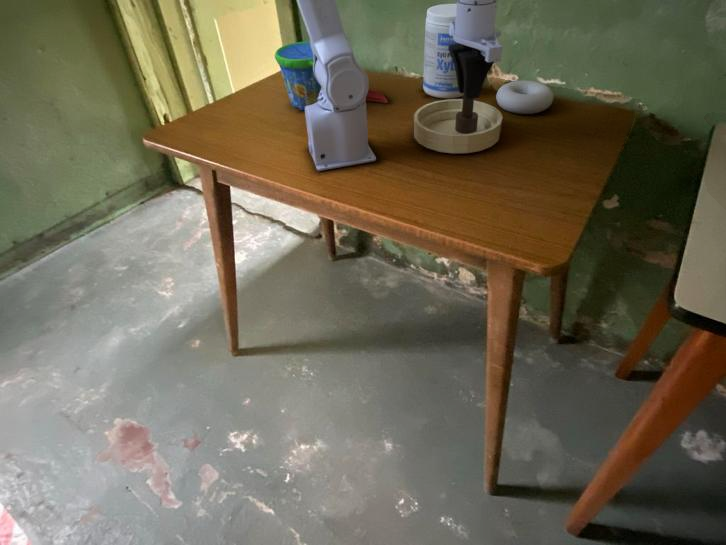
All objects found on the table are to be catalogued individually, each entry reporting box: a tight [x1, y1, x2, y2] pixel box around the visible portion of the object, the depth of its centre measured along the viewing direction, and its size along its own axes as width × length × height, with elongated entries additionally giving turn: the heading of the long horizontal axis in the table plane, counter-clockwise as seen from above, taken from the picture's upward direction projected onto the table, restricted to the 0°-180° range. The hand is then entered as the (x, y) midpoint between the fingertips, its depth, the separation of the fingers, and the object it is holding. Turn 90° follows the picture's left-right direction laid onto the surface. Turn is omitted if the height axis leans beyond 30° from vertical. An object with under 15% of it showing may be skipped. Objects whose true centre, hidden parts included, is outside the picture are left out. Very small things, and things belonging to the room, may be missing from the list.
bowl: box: [413, 98, 504, 154], centre depth 81 cm, size 14×14×4 cm
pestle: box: [455, 91, 478, 134], centre depth 79 cm, size 4×4×10 cm
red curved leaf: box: [366, 88, 389, 104], centre depth 96 cm, size 12×5×2 cm, turn 50°
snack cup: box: [274, 40, 322, 111], centre depth 93 cm, size 16×10×10 cm
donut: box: [495, 79, 554, 115], centre depth 89 cm, size 10×3×10 cm
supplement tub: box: [422, 3, 463, 100], centre depth 93 cm, size 10×10×15 cm
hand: (468, 94), depth 79 cm, fingers closed on pestle, 2 cm apart
